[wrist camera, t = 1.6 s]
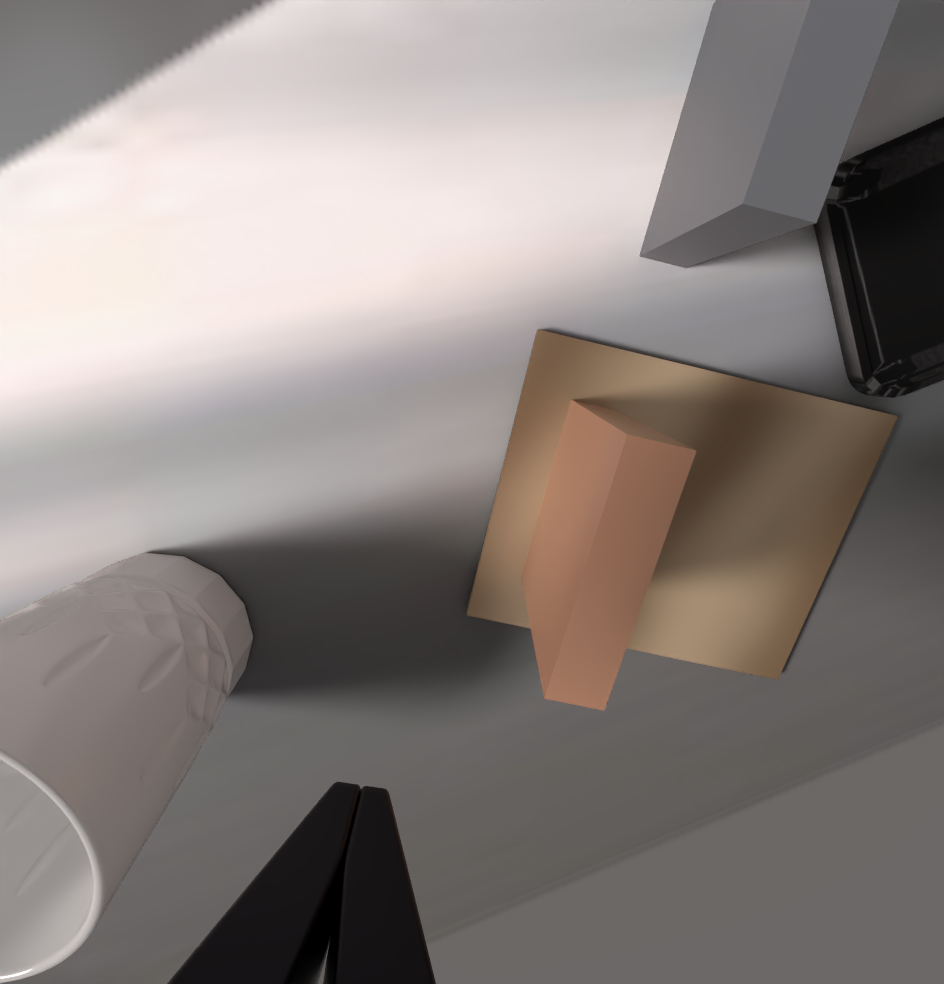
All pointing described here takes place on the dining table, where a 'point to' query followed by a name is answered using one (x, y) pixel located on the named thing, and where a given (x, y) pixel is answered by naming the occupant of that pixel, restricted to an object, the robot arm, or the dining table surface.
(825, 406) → the cork mat
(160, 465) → the dining table surface
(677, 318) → the dining table surface
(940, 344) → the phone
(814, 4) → the gray box
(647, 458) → the terracotta tile
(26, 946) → the white cup
